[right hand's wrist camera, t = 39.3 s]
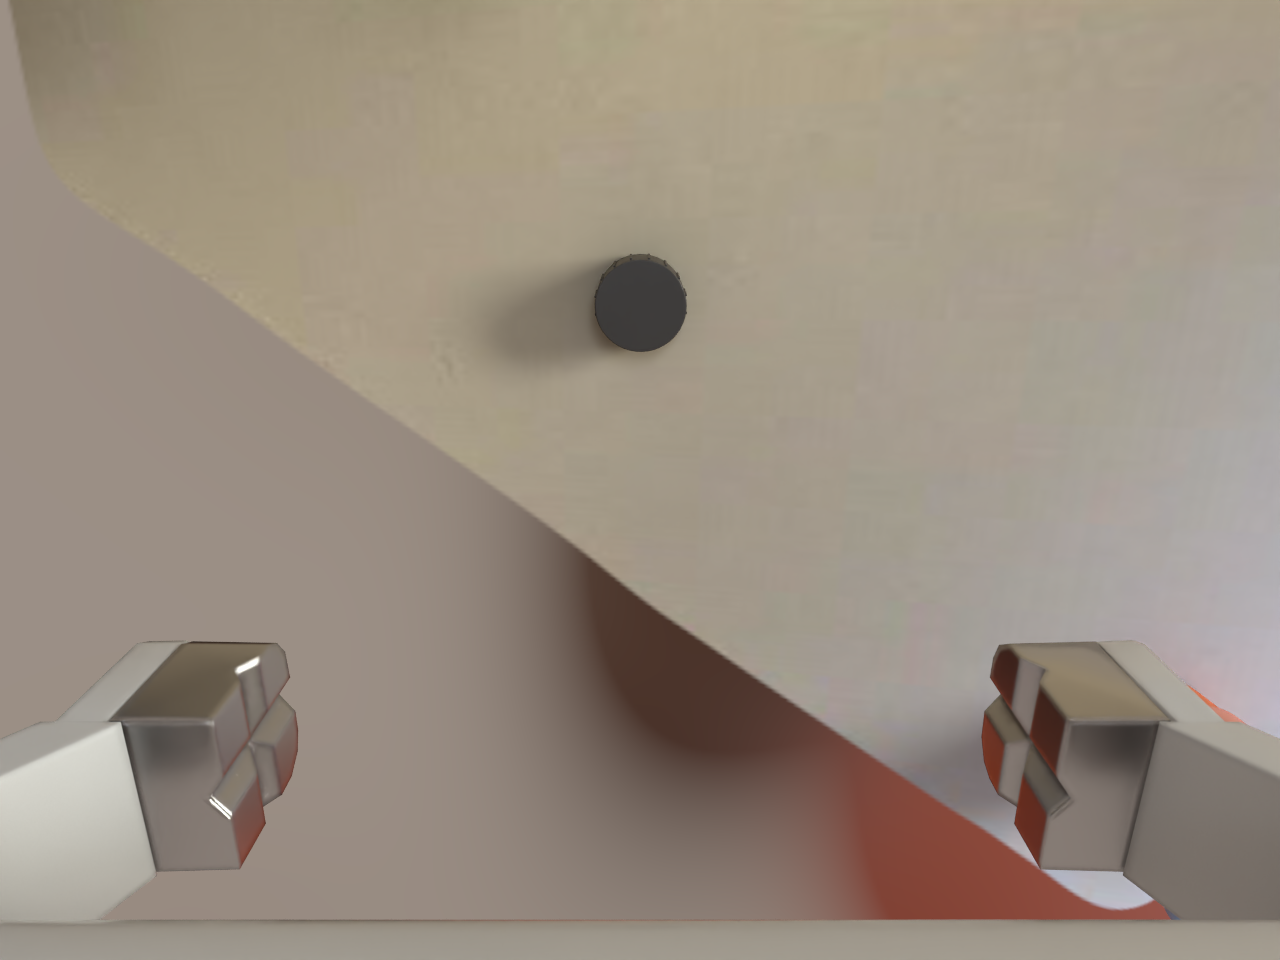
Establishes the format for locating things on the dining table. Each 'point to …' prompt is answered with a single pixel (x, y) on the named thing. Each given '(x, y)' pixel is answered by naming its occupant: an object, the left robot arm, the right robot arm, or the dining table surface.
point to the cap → (640, 303)
